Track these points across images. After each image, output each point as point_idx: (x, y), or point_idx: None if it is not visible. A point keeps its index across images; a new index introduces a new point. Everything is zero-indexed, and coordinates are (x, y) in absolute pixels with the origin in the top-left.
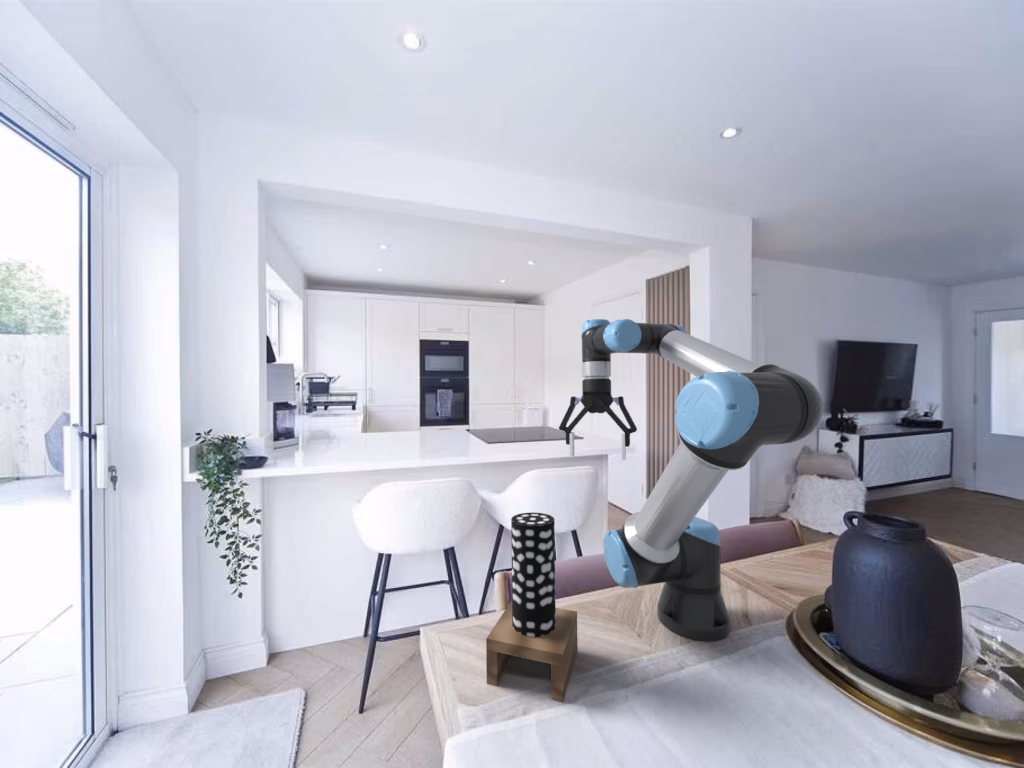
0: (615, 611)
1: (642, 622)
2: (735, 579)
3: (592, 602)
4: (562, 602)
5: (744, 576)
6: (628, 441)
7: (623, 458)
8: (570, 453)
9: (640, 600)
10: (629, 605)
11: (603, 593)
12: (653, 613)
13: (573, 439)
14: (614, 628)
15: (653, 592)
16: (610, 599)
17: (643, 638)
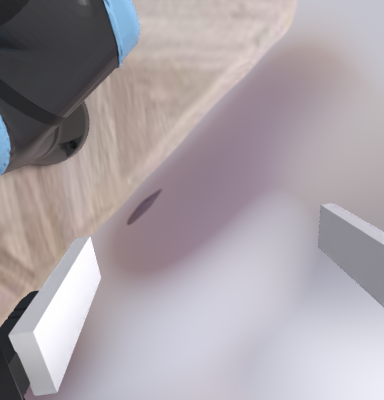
0: (143, 97)
1: (102, 83)
2: (12, 261)
3: (179, 108)
4: (219, 89)
5: (2, 276)
6: (16, 314)
7: (81, 240)
8: (342, 209)
9: (118, 144)
10: (129, 123)
11: (171, 141)
12: (94, 115)
13: (379, 278)
14: (133, 49)
15: (107, 175)
16: (158, 128)
17: None
